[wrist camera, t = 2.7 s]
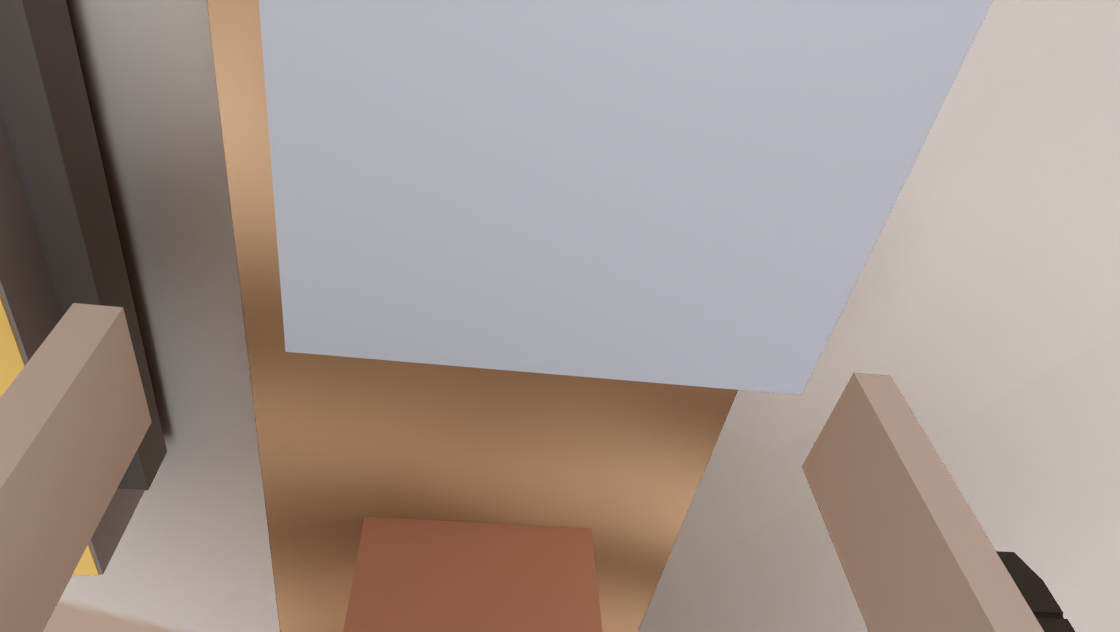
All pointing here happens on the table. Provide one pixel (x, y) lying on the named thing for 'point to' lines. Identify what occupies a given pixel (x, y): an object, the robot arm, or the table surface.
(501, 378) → the pallet
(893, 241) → the table surface
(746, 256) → the grey block
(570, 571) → the salmon pink cube
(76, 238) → the block
